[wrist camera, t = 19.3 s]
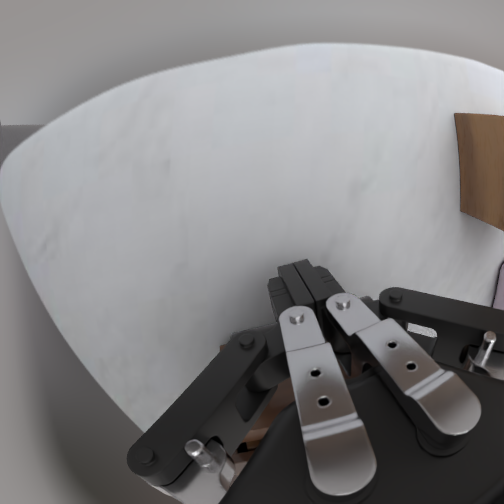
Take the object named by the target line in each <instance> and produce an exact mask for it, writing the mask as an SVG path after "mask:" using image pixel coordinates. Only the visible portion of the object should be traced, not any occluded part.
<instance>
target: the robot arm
mask: <svg viewBox="0 0 504 504" xmlns="http://www.w3.org/2000/svg"><path fill="white" fill-rule="evenodd" d="M277 270H278V275H279V277H276V278H272V279H270V280H269V283H268V285H267V286H268V291H269V295H270V299H271V304H272V308H273V312H274V315H275V318H276V321H277V324H276V325H275V326H274V327H273V328H272V329H271V330H270V331H268V332H266V333H264V334H263V333H262V332H260V331H258V330H245V331H242V332H240V333H238V334H236V335H235V336H233V337H232V339H231V340H230V341H229V342H228V343H227V344H226V345H225V347H224V348H223V349H222V350H221V351H220V352H219V353H218V355H217V356H216V357H215V358H214V359H213V360H212V361H211V362H210V364H209V365H208V366H207V367H206V368H205V369H204V370H203V371H202V372H201V374H200V375H199V376H198V377H197V378H196V379H195V380H194V381H193V382H192V384H191V385H190V386H189V387H188V388H187V389H186V390H185V391H184V392H183V393H182V394H181V395H180V397H179V398H178V399H177V400H176V401H175V402H174V403H173V404H172V405H171V406H170V407H169V408H168V409H167V410H166V412H165V413H164V414H163V415H162V416H161V417H160V418H159V419H158V420H157V421H156V422H155V423H154V424H153V425H152V426H151V427H150V428H149V429H148V430H147V431H146V432H145V433H144V434H143V435H142V436H141V438H139V439H138V440H137V442H136V443H135V444H134V445H133V446H132V447H131V448H130V450H129V452H128V454H127V464H128V466H129V468H130V469H131V471H132V472H134V473H135V474H137V475H138V476H139V477H141V478H142V479H144V480H145V481H146V482H147V483H148V484H150V485H151V486H153V487H155V488H156V489H158V490H160V491H161V492H163V493H165V494H167V495H170V496H172V497H174V498H175V499H177V500H179V501H180V502H182V503H184V504H504V310H501V309H496V308H491V307H487V306H482V305H477V304H473V303H468V302H464V301H459V300H454V299H450V298H445V297H440V296H436V295H431V294H427V293H422V292H417V291H413V290H408V289H404V288H399V287H392V288H388V289H385V290H383V291H382V292H381V293H380V296H379V300H375V301H361V300H360V299H359V298H358V297H357V296H356V295H354V294H351V293H346V292H345V291H344V290H343V288H342V287H341V286H340V285H339V283H338V282H337V281H336V280H335V278H334V277H333V276H332V275H331V273H330V272H329V271H328V270H327V269H325V268H323V267H321V266H317V267H313V266H312V265H311V264H310V262H309V261H308V260H307V259H305V260H302V261H298V262H294V263H290V264H287V265H283V266H279V267H277ZM408 322H409V323H412V324H416V325H420V326H424V327H428V328H432V329H434V330H435V331H436V333H437V337H435V338H433V337H428V336H425V335H421V334H417V333H413V332H410V331H407V329H408ZM343 376H344V377H343ZM290 377H291V380H292V385H293V390H294V395H295V401H293V402H292V403H290V404H289V405H288V406H286V407H285V408H284V409H283V410H282V411H281V412H280V413H279V414H278V415H277V416H276V417H275V419H274V420H273V422H272V423H271V425H270V427H269V428H268V430H267V432H266V433H265V435H264V437H263V438H262V440H261V442H260V443H259V445H258V446H257V448H256V450H255V451H254V453H253V454H252V456H251V457H250V459H249V460H248V462H247V464H246V465H245V467H244V468H243V470H242V471H241V472H240V474H239V475H238V477H237V479H236V480H235V481H234V483H233V484H232V485H231V487H230V483H231V479H232V478H233V476H234V474H235V470H236V466H235V462H234V460H233V459H232V458H231V456H232V454H233V453H234V452H235V450H236V449H237V448H238V446H239V445H240V444H241V442H242V441H243V439H244V438H245V437H246V435H247V434H248V432H249V431H250V430H251V428H252V427H253V425H254V424H255V422H256V421H257V419H258V418H259V416H260V415H261V414H262V412H263V411H264V409H265V408H266V406H267V404H268V403H269V401H270V400H271V398H272V397H273V395H274V394H275V392H276V390H277V388H278V384H279V383H281V382H283V381H284V380H286V379H288V378H290ZM344 378H345V379H344Z"/></svg>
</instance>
